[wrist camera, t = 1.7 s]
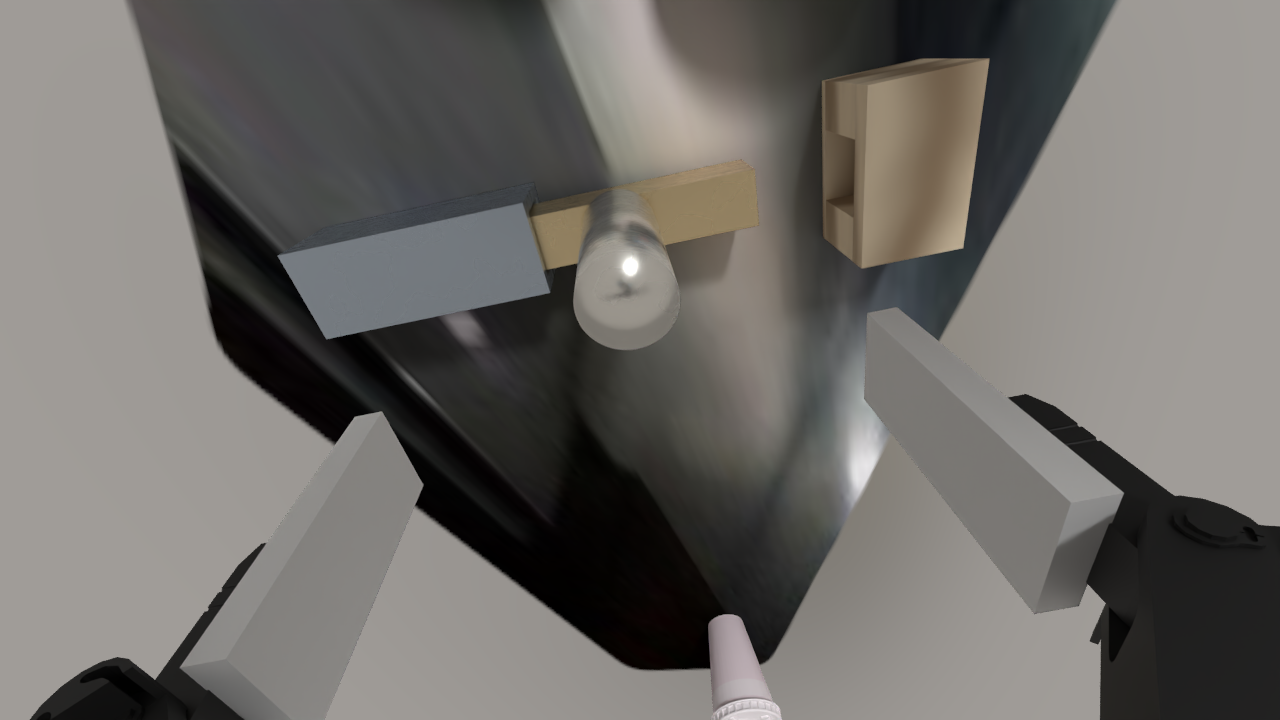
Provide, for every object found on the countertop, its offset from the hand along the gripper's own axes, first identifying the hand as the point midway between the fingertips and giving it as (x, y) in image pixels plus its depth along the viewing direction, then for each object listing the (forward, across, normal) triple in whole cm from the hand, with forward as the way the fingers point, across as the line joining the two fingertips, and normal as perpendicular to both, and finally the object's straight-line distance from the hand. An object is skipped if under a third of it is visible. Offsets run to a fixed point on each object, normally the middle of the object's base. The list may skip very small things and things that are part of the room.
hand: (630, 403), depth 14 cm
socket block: (+20, +16, 0) cm, 25 cm away
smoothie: (+21, +2, -44) cm, 49 cm away
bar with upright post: (+19, -4, 0) cm, 19 cm away
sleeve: (+20, -11, 0) cm, 23 cm away
